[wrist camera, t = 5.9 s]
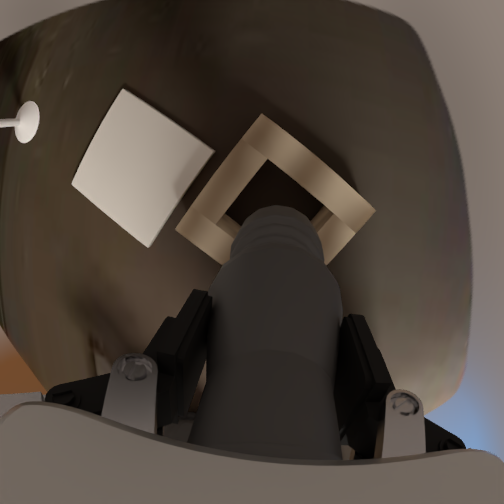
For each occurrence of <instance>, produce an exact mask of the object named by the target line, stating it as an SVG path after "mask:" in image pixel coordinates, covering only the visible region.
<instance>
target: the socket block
mask: <svg viewBox="0 0 504 504" xmlns="http://www.w3.org/2000/svg"><path fill="white" fill-rule="evenodd" d="M267 159H269V160H270V161H271V162H273V163H274V164H275V165H276V166H278V167H279V168H280V169H281V170H283V171H284V172H285V173H286V174H288V175H289V176H290V177H291V178H293V179H294V180H295V181H296V182H297V183H299V184H300V185H301V186H302V187H303V188H305V189H306V190H307V191H308V192H309V193H311V194H312V195H313V196H314V197H315V198H317V199H318V200H319V201H320V202H321V203H322V204H324V206H323V207H322V208H321V210H320V211H319V212H318V213H317V214H316V215H315V217H314V218H313V219H312V220H311V221H310V222H311V224H312V225H313V227H314V228H315V229H316V232H317V234H318V236H319V238H320V241H321V243H322V249H323V254H324V259H325V261H324V263H325V265H327V264H328V263H329V262H330V261H331V260H332V259H333V258H334V257H335V256H336V255H337V254H338V253H339V251H340V250H341V249H342V248H343V247H344V246H345V245H346V244H347V243H348V242H349V241H350V239H351V238H352V237H353V236H354V235H355V234H356V233H357V232H358V230H359V229H360V228H361V227H362V226H363V225H364V224H365V223H366V221H367V220H368V219H369V218H370V217H371V216H372V215H373V213H374V212H375V211H376V210H375V209H374V208H373V207H372V206H371V205H370V204H369V203H368V202H367V201H365V200H364V199H363V198H362V197H361V196H360V195H359V194H358V193H357V192H356V191H355V190H354V189H353V188H352V187H351V186H350V185H348V184H347V183H346V182H345V181H344V180H343V179H342V178H341V177H340V176H339V175H337V174H336V173H335V172H334V171H333V170H332V169H331V168H329V167H328V166H327V165H326V164H325V163H324V162H323V161H321V160H320V159H319V158H318V157H317V156H315V155H314V154H313V153H312V152H311V151H309V150H308V149H307V148H306V147H305V146H303V145H302V144H301V143H300V142H298V141H297V140H296V139H295V138H293V137H292V136H291V135H290V134H288V133H287V132H286V131H284V130H283V129H282V128H281V127H279V126H278V125H277V124H275V123H274V122H273V121H271V120H270V119H269V118H267V117H266V116H265V115H263V114H261V115H260V116H259V117H258V118H257V120H256V121H255V122H254V123H253V125H252V126H251V127H250V128H249V130H248V131H247V132H246V133H245V135H244V136H243V137H242V138H241V140H240V141H239V142H238V143H237V145H236V146H235V147H234V149H233V150H232V151H231V152H230V154H229V155H228V156H227V158H226V159H225V160H224V162H223V163H222V164H221V165H220V167H219V168H218V169H217V171H216V172H215V174H214V175H213V176H212V178H211V179H210V180H209V182H208V183H207V184H206V186H205V187H204V188H203V190H202V191H201V193H200V194H199V195H198V197H197V198H196V200H195V201H194V202H193V204H192V205H191V207H190V208H189V210H188V211H187V212H186V214H185V215H184V217H183V218H182V220H181V221H180V223H179V224H178V226H177V227H176V229H175V230H176V231H177V232H179V233H180V234H181V235H183V236H184V237H185V238H187V239H188V240H189V241H190V242H192V243H193V244H194V245H196V246H197V247H198V248H200V249H201V250H202V251H204V252H205V253H206V254H208V255H209V256H210V257H212V258H213V259H214V260H216V261H217V262H218V263H220V264H221V265H222V266H223V264H224V263H226V262H227V261H228V260H230V251H231V245H232V243H233V241H234V239H235V237H236V235H237V233H238V231H239V230H240V228H241V226H240V225H239V224H238V223H237V222H235V221H234V220H233V219H231V218H230V217H229V216H227V215H226V214H225V212H226V211H227V210H228V208H229V207H230V206H231V204H232V203H233V202H234V201H235V199H236V198H237V197H238V195H239V194H240V193H241V192H242V190H243V189H244V188H245V187H246V185H247V184H248V183H249V181H250V180H251V179H252V178H253V176H254V175H255V174H256V173H257V171H258V170H259V169H260V168H261V166H262V165H263V164H264V163H265V162H266V160H267Z"/></svg>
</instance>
